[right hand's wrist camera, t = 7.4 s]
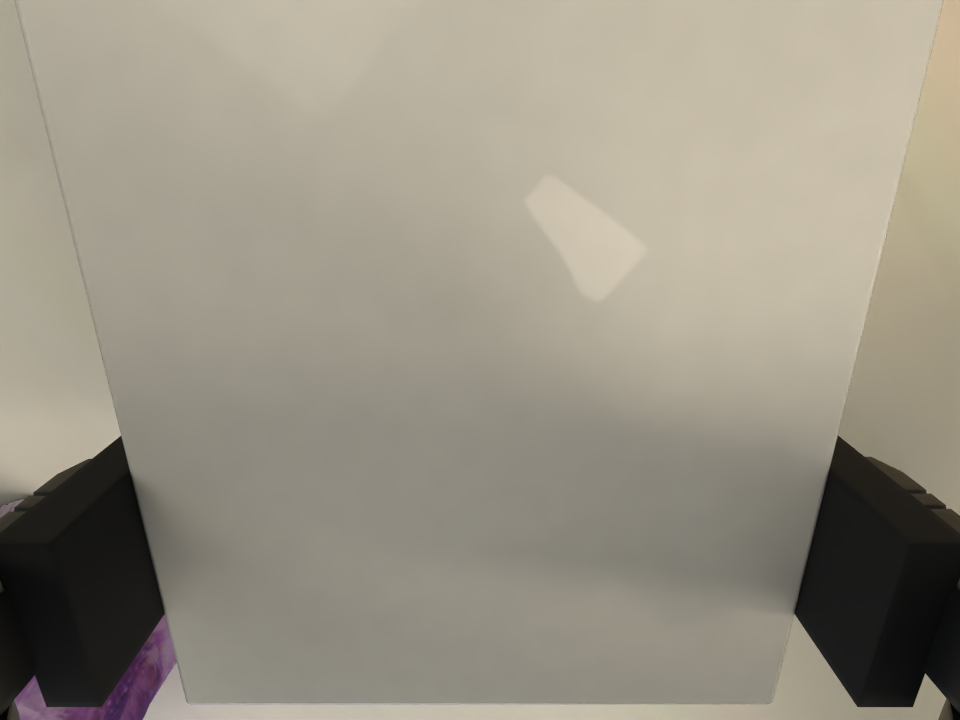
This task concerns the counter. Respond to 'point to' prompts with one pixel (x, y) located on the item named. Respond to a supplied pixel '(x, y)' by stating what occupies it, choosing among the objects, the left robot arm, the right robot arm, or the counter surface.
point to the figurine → (131, 693)
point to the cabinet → (479, 325)
